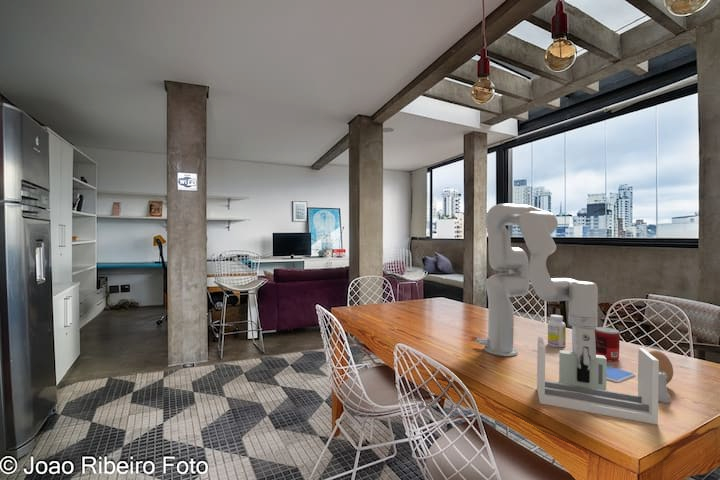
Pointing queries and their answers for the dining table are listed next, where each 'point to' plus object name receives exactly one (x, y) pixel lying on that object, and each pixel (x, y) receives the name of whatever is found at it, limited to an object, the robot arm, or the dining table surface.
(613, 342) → the canned food
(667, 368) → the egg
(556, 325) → the supplement bottle
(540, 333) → the dining table surface
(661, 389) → the rook chess piece
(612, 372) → the tablet computer
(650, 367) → the cabinet base
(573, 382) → the door panel
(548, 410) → the dining table surface
